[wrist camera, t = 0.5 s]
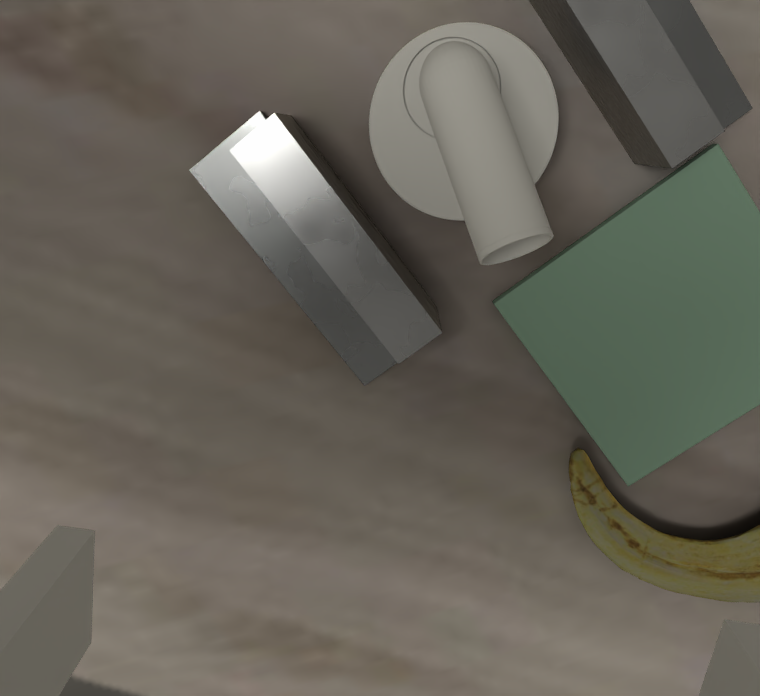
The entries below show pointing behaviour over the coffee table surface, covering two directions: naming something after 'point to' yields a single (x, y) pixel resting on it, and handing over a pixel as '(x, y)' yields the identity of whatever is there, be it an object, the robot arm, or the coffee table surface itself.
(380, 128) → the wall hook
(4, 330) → the coffee table surface
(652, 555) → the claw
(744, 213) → the felt pad
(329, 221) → the vise
